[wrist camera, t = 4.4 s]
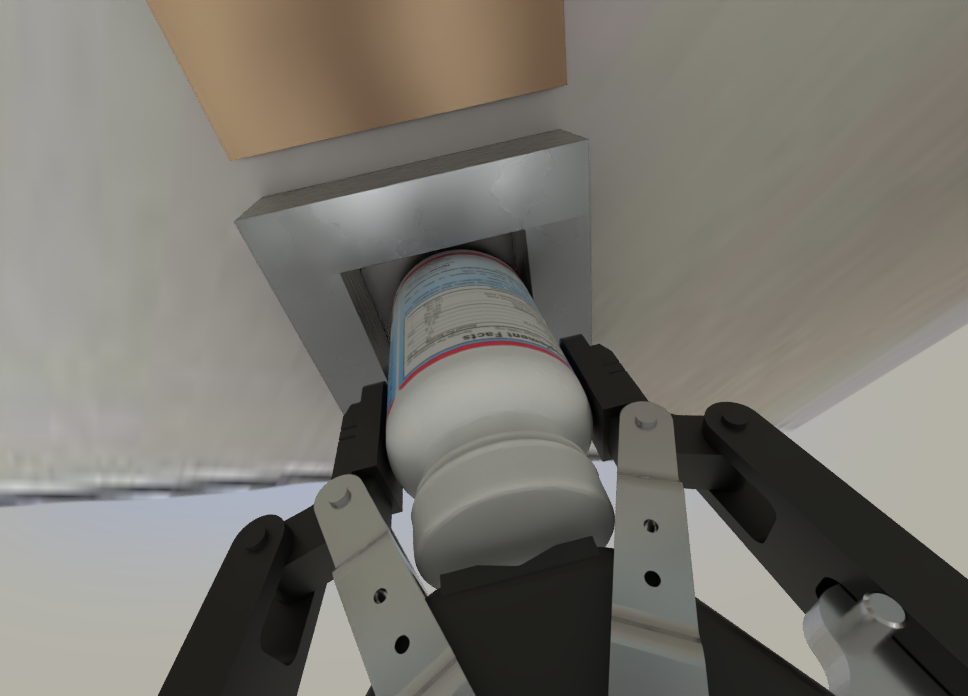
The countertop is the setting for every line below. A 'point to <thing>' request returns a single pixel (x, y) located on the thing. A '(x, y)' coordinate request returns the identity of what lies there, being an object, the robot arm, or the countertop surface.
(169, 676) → the robot arm
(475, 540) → the pill bottle
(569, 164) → the gray square frame
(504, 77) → the copper plate
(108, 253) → the countertop surface
